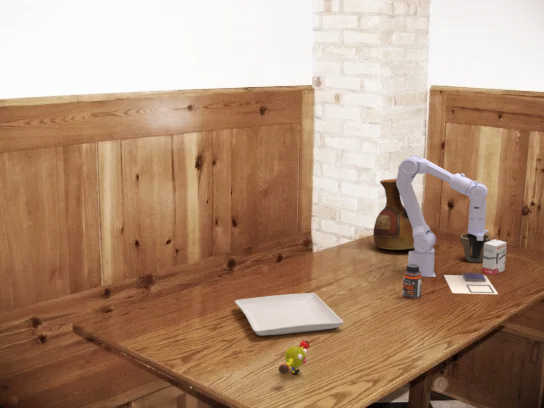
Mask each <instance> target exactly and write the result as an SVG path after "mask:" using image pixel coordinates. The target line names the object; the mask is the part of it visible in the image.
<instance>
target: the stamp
mask: <svg viewBox="0 0 544 408" xmlns="http://www.w3.org/2000/svg"><path fill="white" fill-rule="evenodd" d="M467 259H468V260H469V261H471V262H470V263H474V262H479V263H482V262H483V261H482V258H481V257H480V256H479V257H473V254H472V246H471V251H470V255H467ZM469 261H468V262H469ZM481 261H482V262H481Z"/></svg>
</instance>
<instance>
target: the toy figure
mask: <svg viewBox="0 0 544 408" xmlns="http://www.w3.org/2000/svg"><path fill="white" fill-rule="evenodd" d="M309 348H310V342H309V341H308V340H305V339H304V340H301V341H300V343H299V346H297V345H295V346H294V345H293V346H290V347H289V348H287V350H286V351H285V353H284V360H285V363H282V364H281V365H280V366H279V367H278V373H280V374H282V375H287V374H288V373H289V371H290V367H291V369H292V370H291V375H298V372H300V371H301V369H299V368H301V366H303V365H304V364H306V363H307V358H306V354H307V353H308V349H309Z"/></svg>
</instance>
